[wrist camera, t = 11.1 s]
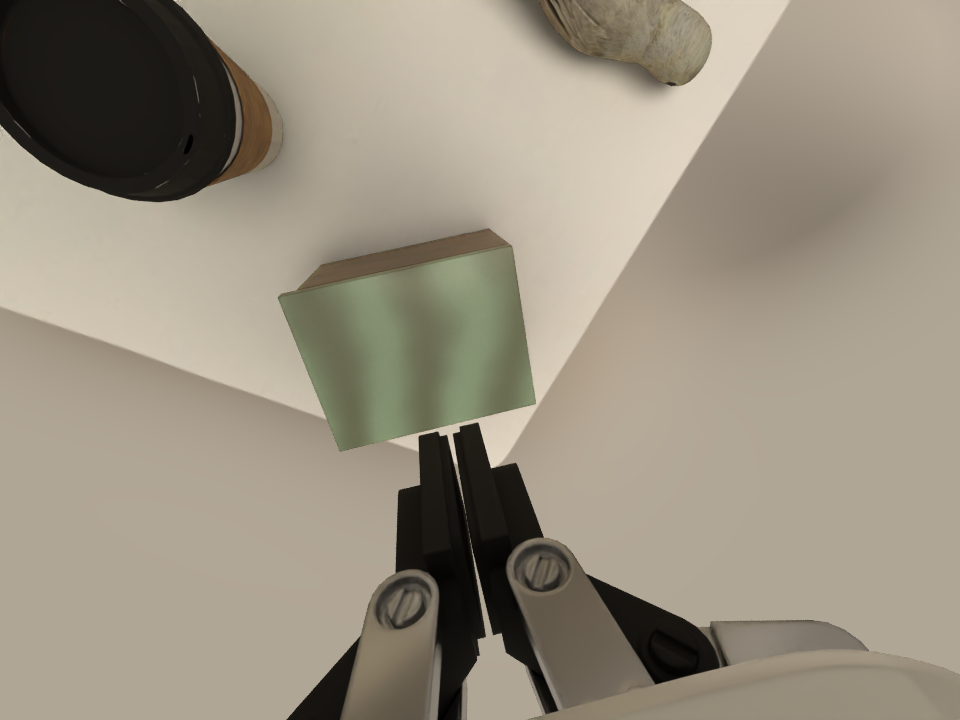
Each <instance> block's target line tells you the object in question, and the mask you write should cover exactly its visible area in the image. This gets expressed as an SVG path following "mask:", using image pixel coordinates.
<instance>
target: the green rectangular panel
mask: <svg viewBox="0 0 960 720" xmlns="http://www.w3.org/2000/svg"><path fill="white" fill-rule="evenodd" d="M278 299H279V302H280V304H281V307H282V309H283V312H284V314H285V317H286V319H287V322H288V324H289V327H290V329H291V332H292V334H293V337H294V339H295V341H296V344H297V346H298V349H299V351H300V354H301V356H302V359H303V361H304V364H305V366H306V369H307V371H308V374H309V376H310V379H311V381H312V384H313V386H314V389H315V391H316V394H317V396H318V398H319V401H320V403H321V406H322V408H323V411H324V413H325V416H326V418H327V421H328V423H329V426H330V428H331V431H332V433H333V436H334V438H335V441H336V443H337V446H338V448H339V451H345V450H349V449H352V448H357V447H361V446H365V445H369V444H373V443H377V442H381V441H386V440H390V439H394V438H398V437H402V436H406V435H410V434H415V433H419V432H423V431H427V430H431V429H435V428H439V427H443V426H447V425H452V424H456V423H460V422H464V421H468V420H472V419H476V418H480V417H485V416H489V415H493V414H497V413H501V412H505V411H509V410H513V409H517V408H522V407H526V406H530V405H534V404H536V400H535V394H534V387H533V381H532V374H531V367H530V361H529V354H528V347H527V341H526V334H525V328H524V321H523V314H522V308H521V301H520V294H519V288H518V281H517V275H516V268H515V261H514V255H513V248H512V245H510V244H506V245H502V246H497V247H492V248H488V249H483V250H479V251H474V252H470V253H465V254H460V255H456V256H451V257H447V258H442V259H438V260H433V261H429V262H424V263H419V264H415V265H410V266H406V267H401V268H397V269H392V270H387V271H383V272H378V273H374V274H369V275H365V276H360V277H356V278H351V279H346V280H342V281H337V282H333V283H328V284H324V285H319V286H314V287H310V288H305V289H301V290H296V291H292V292H287V293H283V294H281V295H280V296H279V297H278Z"/></svg>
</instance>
